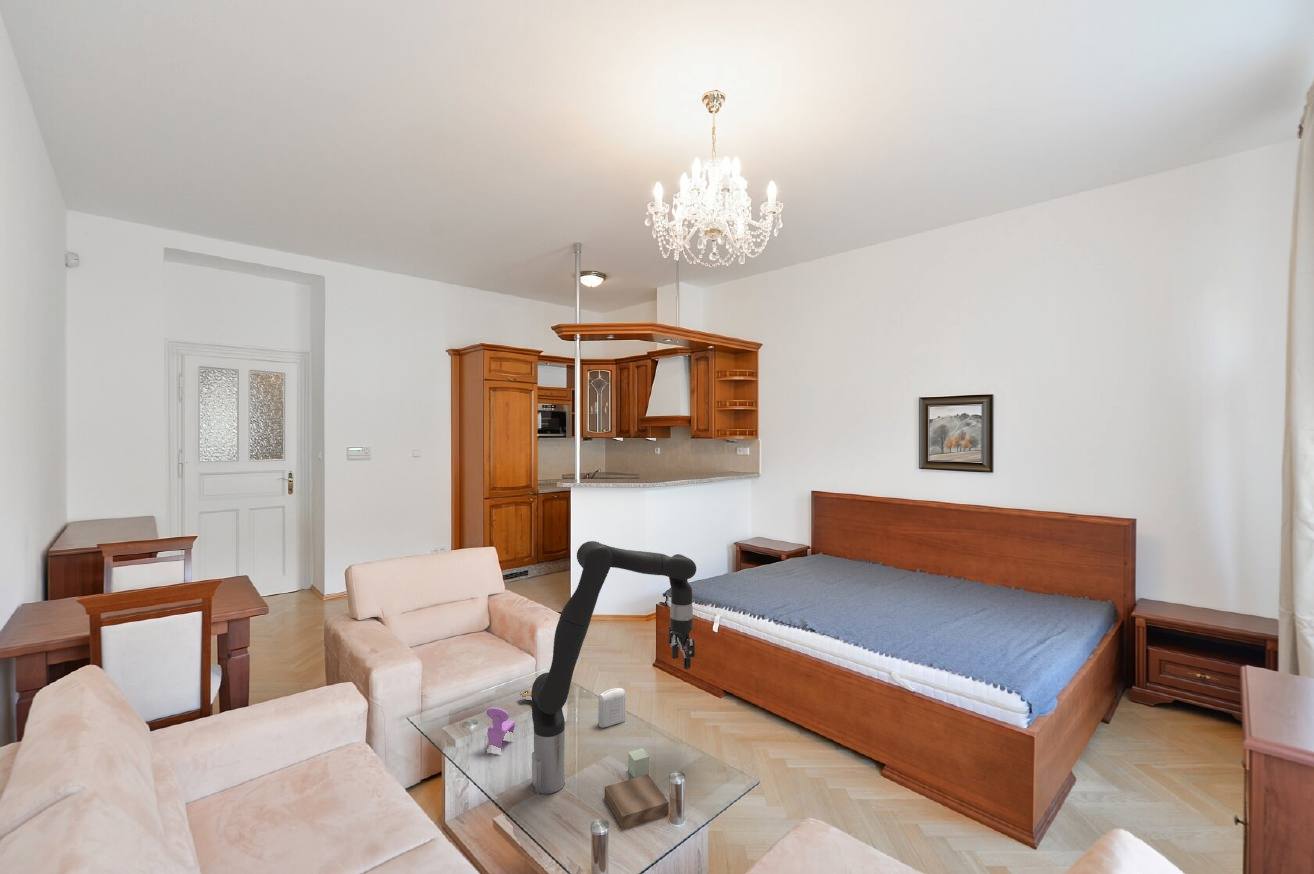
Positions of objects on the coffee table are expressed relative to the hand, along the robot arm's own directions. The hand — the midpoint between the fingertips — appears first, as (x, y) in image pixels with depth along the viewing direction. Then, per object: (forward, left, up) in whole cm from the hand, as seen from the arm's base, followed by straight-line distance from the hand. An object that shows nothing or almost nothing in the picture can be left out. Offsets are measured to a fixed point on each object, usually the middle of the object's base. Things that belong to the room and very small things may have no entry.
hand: (681, 663), depth 197 cm
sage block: (-18, -6, -29) cm, 35 cm away
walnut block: (-25, -20, -30) cm, 44 cm away
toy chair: (-55, +26, -30) cm, 67 cm away
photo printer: (-15, +25, -30) cm, 41 cm away
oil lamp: (-35, +50, -30) cm, 68 cm away
